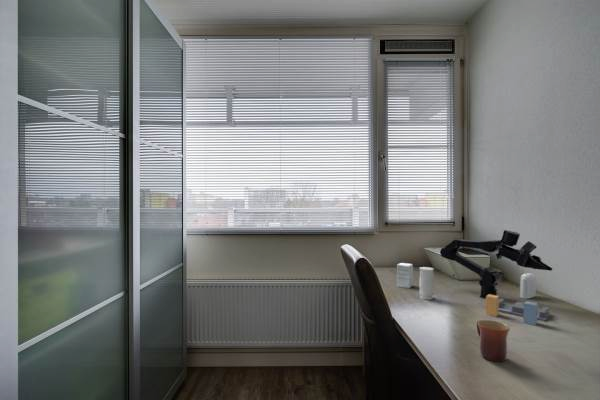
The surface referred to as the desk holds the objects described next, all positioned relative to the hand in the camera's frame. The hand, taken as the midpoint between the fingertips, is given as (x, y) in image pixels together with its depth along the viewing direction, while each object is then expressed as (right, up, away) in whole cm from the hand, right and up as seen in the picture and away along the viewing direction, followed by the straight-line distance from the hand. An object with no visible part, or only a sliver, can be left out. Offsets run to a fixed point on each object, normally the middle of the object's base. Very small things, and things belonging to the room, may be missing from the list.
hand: (548, 268), depth 151 cm
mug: (-51, -19, -43) cm, 70 cm away
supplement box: (-51, -19, +43) cm, 70 cm away
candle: (-48, -19, +20) cm, 55 cm away
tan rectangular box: (-28, -19, -4) cm, 34 cm away
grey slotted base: (-14, -19, -1) cm, 24 cm away
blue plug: (-18, -19, -14) cm, 30 cm away
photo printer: (+6, -19, +23) cm, 31 cm away
